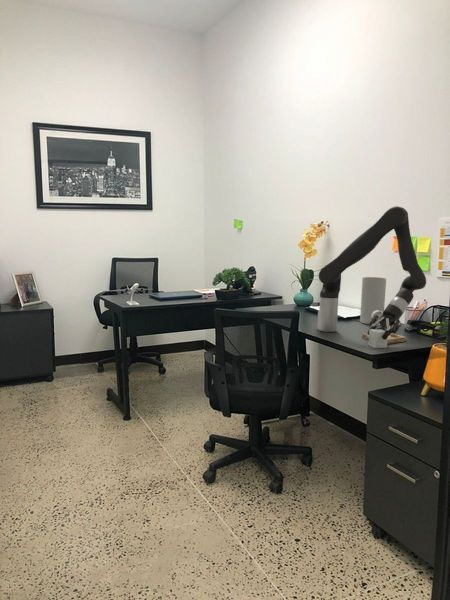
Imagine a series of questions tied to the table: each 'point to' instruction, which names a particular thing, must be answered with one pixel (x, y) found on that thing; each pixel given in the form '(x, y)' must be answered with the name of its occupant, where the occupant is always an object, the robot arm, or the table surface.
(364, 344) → the table surface
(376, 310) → the watch
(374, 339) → the skincare box
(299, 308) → the table surface
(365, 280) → the cylinder vase
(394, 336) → the tray
